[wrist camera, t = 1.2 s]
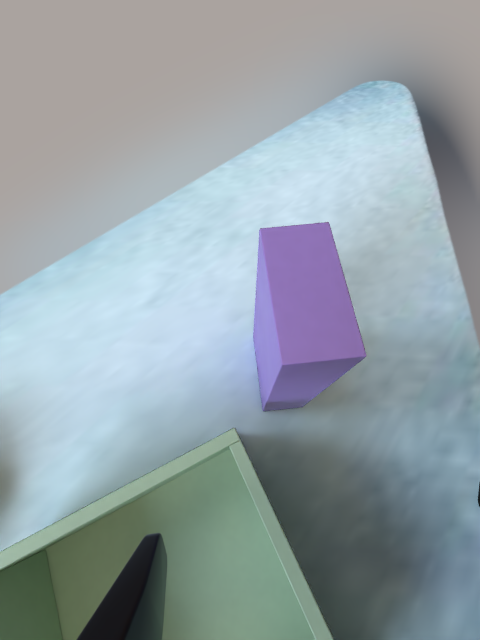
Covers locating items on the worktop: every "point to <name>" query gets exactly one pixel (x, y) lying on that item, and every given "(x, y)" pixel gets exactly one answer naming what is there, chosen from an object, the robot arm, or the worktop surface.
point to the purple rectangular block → (301, 316)
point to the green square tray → (168, 557)
